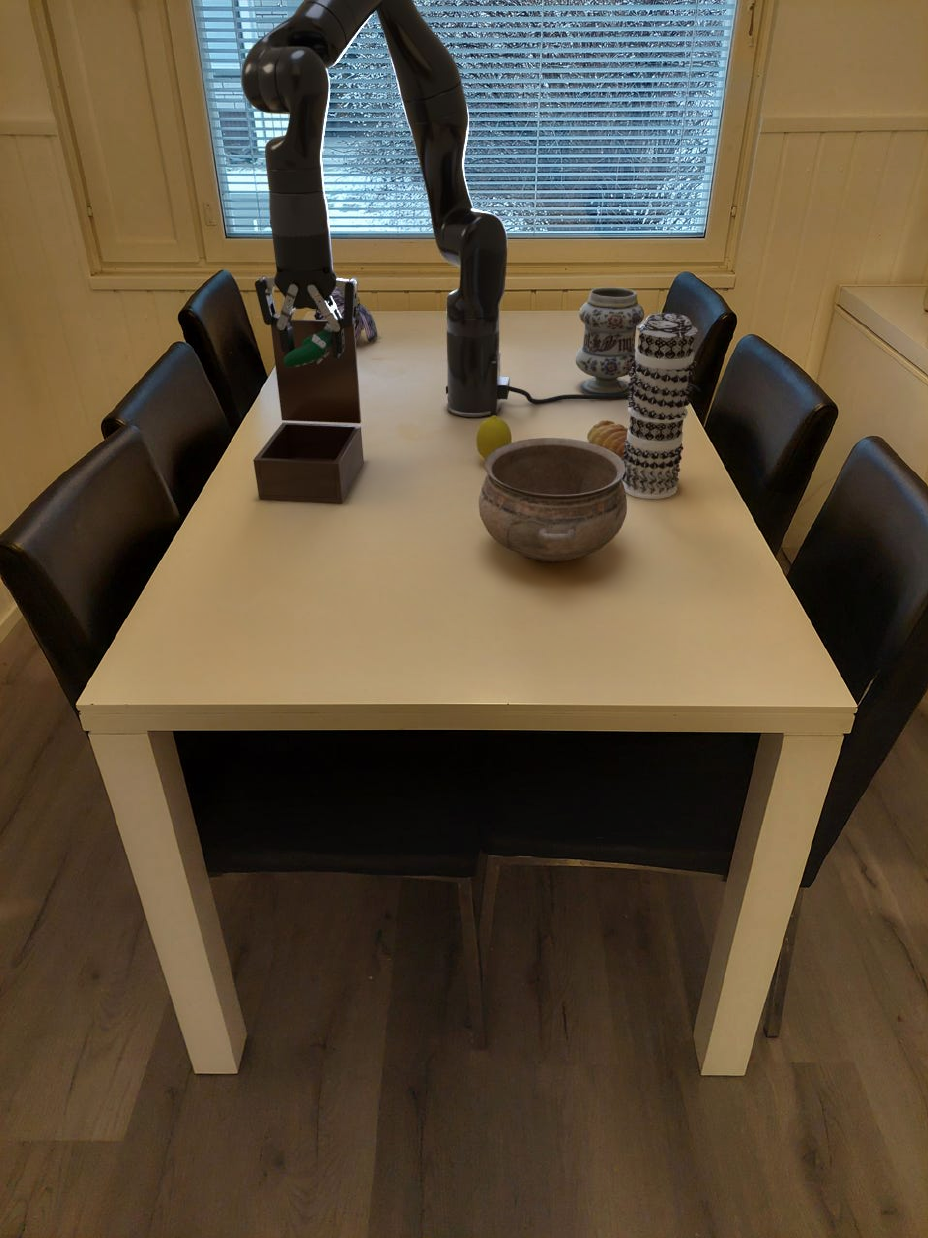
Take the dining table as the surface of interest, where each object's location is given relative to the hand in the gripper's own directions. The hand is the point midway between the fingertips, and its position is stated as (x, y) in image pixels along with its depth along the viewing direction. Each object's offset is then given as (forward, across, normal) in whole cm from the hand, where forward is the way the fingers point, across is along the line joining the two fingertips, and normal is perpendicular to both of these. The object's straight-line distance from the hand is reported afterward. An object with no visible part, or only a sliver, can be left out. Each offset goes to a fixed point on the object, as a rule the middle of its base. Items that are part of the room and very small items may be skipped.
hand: (313, 355), depth 124 cm
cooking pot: (+20, -35, +18) cm, 44 cm away
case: (+19, +2, 0) cm, 20 cm away
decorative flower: (+20, +14, -73) cm, 77 cm away
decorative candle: (+20, -49, -3) cm, 53 cm away
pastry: (+20, -44, -17) cm, 51 cm away
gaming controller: (+1, 0, 0) cm, 1 cm away
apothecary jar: (+20, -43, -46) cm, 66 cm away
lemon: (+20, -25, -9) cm, 33 cm away
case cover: (+5, +2, -7) cm, 9 cm away
